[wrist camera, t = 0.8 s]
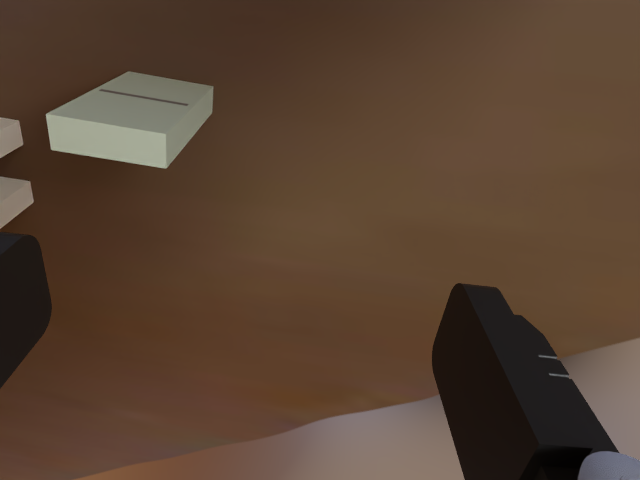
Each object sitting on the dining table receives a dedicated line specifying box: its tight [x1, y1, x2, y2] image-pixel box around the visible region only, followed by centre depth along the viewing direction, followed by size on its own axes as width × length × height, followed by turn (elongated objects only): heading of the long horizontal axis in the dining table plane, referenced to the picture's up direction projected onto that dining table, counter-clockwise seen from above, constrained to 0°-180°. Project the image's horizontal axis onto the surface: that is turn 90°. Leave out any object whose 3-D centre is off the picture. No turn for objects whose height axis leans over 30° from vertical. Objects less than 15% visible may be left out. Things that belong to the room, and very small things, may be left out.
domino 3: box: [46, 71, 213, 169], centre depth 23 cm, size 2×5×9 cm, turn 80°
